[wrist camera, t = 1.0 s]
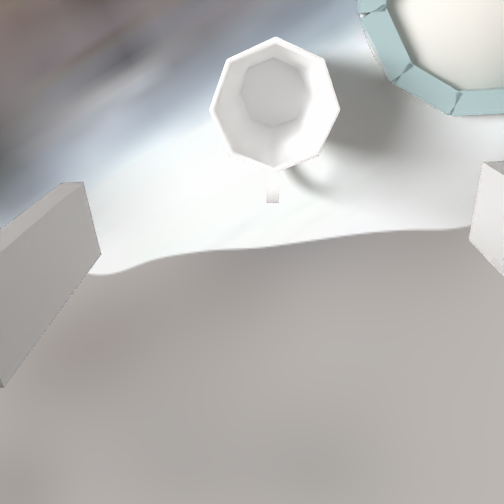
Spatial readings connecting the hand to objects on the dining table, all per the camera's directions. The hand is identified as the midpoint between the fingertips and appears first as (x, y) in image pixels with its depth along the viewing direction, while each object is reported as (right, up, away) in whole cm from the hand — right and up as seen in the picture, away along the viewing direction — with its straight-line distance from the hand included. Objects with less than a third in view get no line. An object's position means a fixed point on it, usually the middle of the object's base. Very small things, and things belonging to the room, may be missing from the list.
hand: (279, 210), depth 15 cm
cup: (+1, +9, +17) cm, 19 cm away
